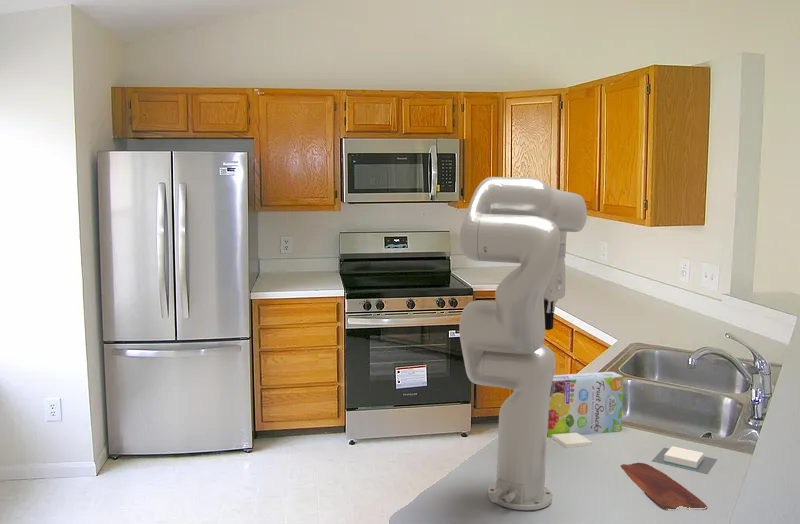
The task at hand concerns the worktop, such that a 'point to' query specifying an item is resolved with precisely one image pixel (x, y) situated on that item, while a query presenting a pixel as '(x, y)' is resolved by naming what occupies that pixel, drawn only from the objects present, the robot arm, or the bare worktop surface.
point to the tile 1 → (571, 440)
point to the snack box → (585, 403)
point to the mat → (703, 467)
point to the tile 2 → (683, 457)
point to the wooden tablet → (661, 487)
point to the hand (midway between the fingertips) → (545, 328)
